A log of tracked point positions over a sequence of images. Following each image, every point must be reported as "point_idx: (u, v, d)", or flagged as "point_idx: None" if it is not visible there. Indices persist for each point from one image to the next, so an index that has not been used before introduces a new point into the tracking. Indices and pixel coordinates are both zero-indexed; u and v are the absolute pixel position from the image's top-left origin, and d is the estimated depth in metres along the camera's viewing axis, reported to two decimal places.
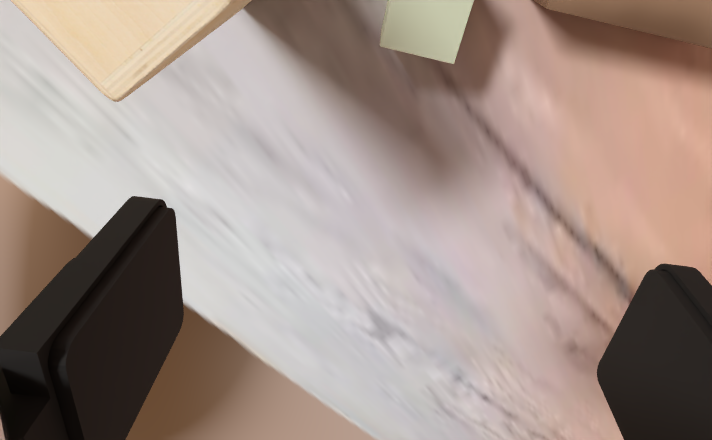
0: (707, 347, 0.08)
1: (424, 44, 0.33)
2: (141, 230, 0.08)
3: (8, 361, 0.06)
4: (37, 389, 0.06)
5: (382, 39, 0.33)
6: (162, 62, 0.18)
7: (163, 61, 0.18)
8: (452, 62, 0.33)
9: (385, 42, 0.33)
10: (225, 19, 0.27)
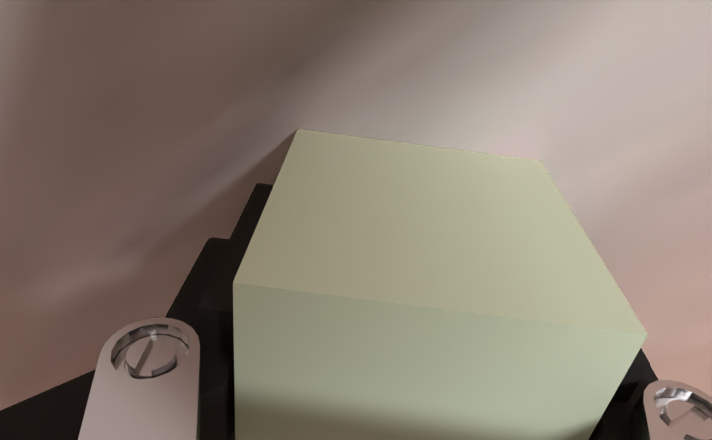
0: None
1: (286, 436, 0.07)
2: None
3: (206, 320, 0.07)
4: (224, 345, 0.07)
5: (271, 291, 0.06)
6: None
7: None
8: None
9: (259, 307, 0.06)
10: None
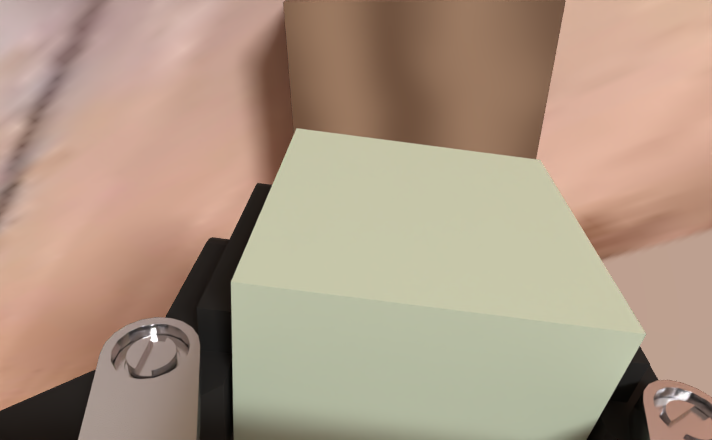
0: None
1: (284, 435, 0.07)
2: None
3: (206, 319, 0.07)
4: (225, 345, 0.07)
5: (269, 290, 0.06)
6: None
7: None
8: None
9: (258, 307, 0.06)
10: None
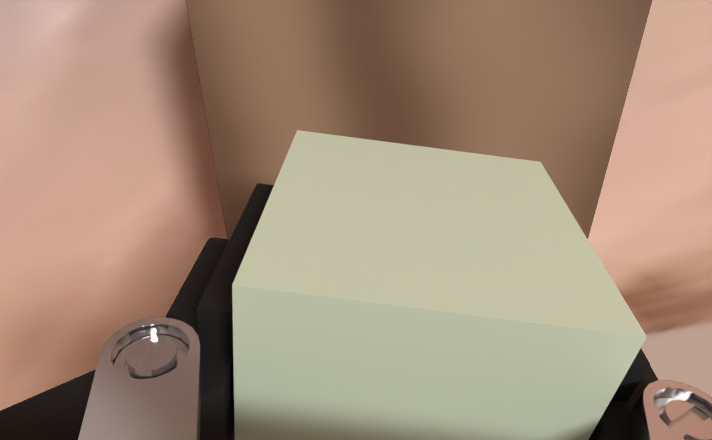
0: None
1: (285, 438, 0.07)
2: None
3: (206, 319, 0.07)
4: (224, 345, 0.07)
5: (271, 293, 0.06)
6: None
7: None
8: None
9: (259, 309, 0.06)
10: None
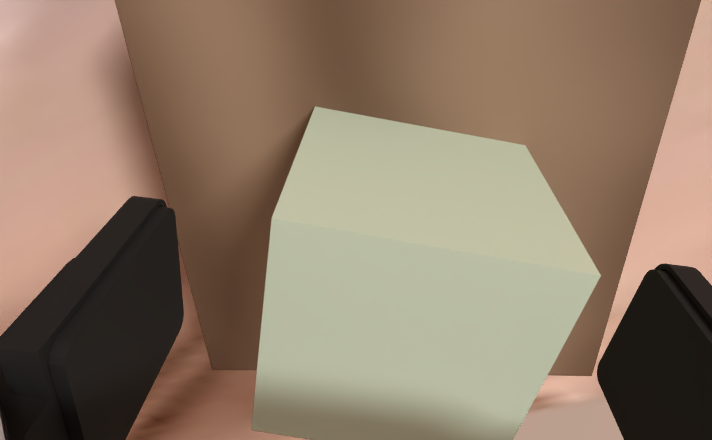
0: (707, 347, 0.08)
1: (301, 358, 0.09)
2: (141, 230, 0.08)
3: (8, 361, 0.06)
4: (37, 389, 0.06)
5: (302, 226, 0.07)
6: None
7: None
8: (255, 427, 0.10)
9: (292, 240, 0.08)
10: None
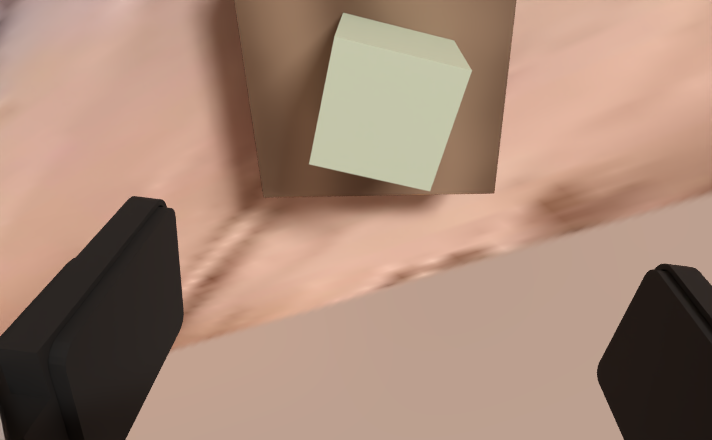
0: (707, 347, 0.08)
1: (339, 116, 0.19)
2: (141, 230, 0.08)
3: (8, 361, 0.06)
4: (37, 389, 0.06)
5: (347, 41, 0.18)
6: None
7: None
8: (311, 162, 0.20)
9: (342, 47, 0.18)
10: None
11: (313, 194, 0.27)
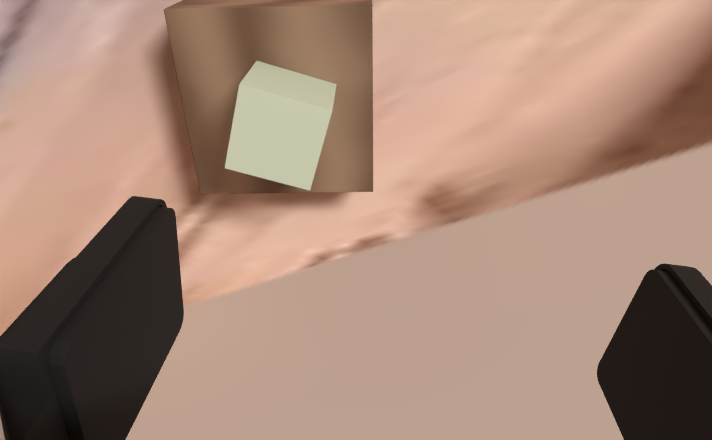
0: (707, 347, 0.08)
1: (244, 136, 0.28)
2: (141, 230, 0.08)
3: (8, 361, 0.06)
4: (37, 389, 0.06)
5: (247, 87, 0.26)
6: None
7: None
8: (226, 166, 0.29)
9: (244, 91, 0.26)
10: None
11: (238, 191, 0.35)
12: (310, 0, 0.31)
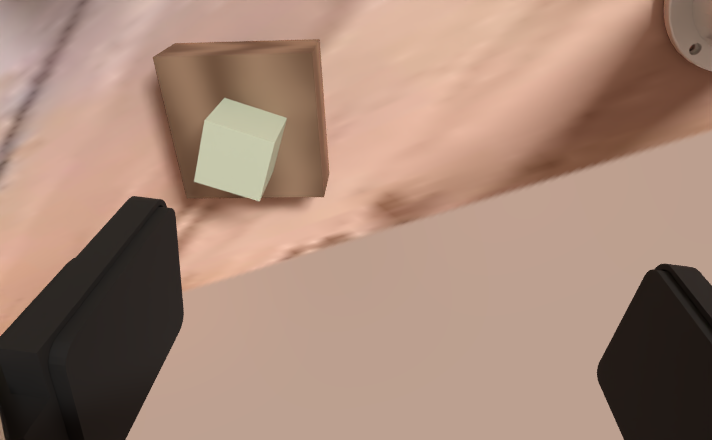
0: (707, 347, 0.08)
1: (208, 158, 0.36)
2: (141, 230, 0.08)
3: (8, 361, 0.06)
4: (37, 389, 0.06)
5: (210, 123, 0.35)
6: None
7: None
8: (195, 180, 0.37)
9: (208, 126, 0.35)
10: None
11: (216, 196, 0.44)
12: (268, 46, 0.39)
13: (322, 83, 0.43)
